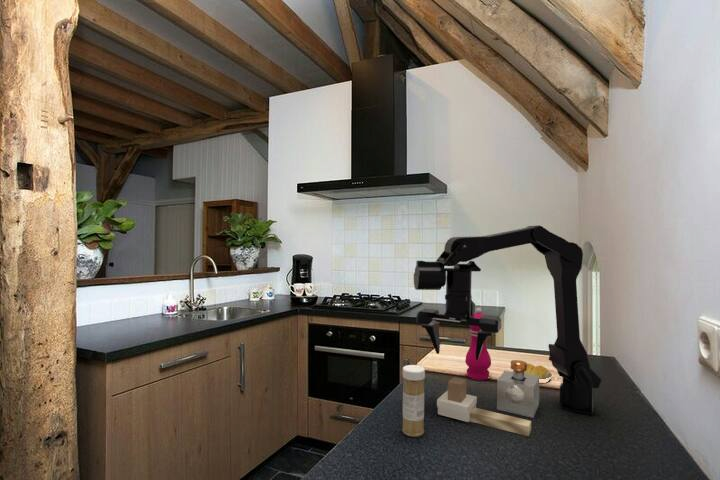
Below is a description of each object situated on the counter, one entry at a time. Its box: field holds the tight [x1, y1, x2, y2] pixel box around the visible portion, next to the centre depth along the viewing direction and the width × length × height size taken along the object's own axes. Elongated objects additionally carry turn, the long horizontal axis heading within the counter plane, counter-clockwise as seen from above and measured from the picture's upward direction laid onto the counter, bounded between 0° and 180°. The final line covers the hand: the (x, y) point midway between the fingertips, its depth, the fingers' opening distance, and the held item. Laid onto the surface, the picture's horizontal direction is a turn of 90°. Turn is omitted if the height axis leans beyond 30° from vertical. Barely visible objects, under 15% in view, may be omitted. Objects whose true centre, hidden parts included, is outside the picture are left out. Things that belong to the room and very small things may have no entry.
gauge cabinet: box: [496, 370, 540, 419], centre depth 94 cm, size 8×8×7 cm
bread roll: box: [524, 363, 553, 379], centre depth 115 cm, size 8×9×4 cm
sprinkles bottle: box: [401, 364, 426, 438], centre depth 82 cm, size 5×5×14 cm
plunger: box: [510, 359, 528, 381], centre depth 95 cm, size 4×4×6 cm
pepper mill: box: [464, 307, 492, 381], centre depth 116 cm, size 7×7×20 cm
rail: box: [469, 407, 532, 437], centre depth 87 cm, size 19×3×2 cm, turn 58°
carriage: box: [436, 376, 478, 423], centre depth 90 cm, size 7×7×8 cm
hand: (457, 356), depth 93 cm, fingers open, 9 cm apart
